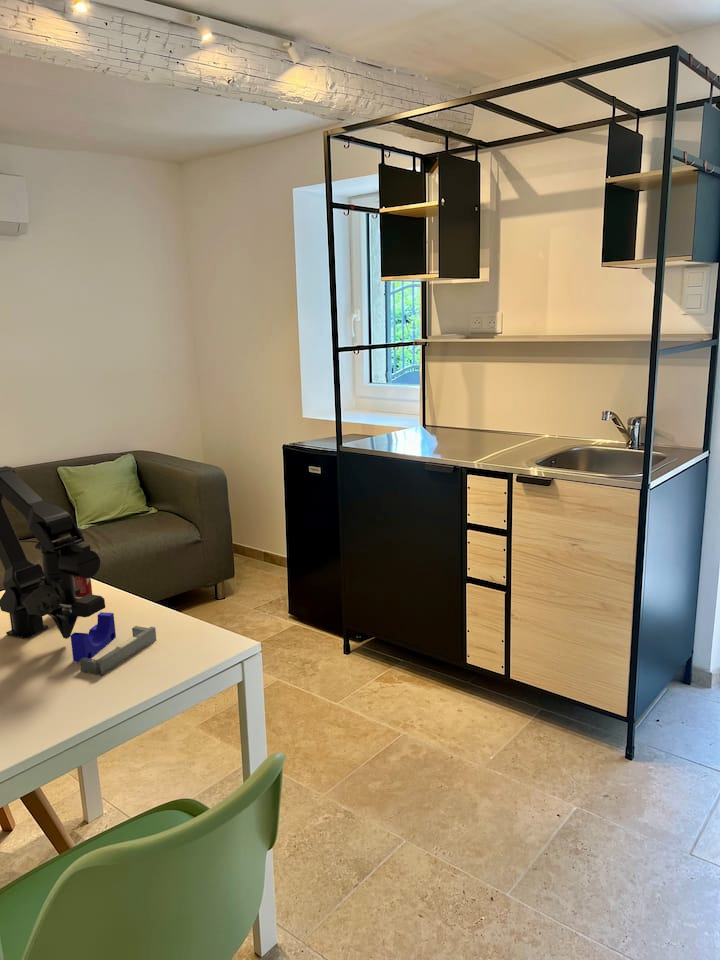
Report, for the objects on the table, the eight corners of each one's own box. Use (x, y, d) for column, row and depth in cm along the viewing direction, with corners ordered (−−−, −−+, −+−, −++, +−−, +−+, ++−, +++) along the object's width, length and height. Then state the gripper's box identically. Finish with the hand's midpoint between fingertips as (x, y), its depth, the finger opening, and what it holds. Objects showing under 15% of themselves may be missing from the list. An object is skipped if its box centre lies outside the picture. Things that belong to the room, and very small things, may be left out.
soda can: (87, 613, 176) (82, 565, 173) (59, 613, 176) (54, 566, 173) (97, 602, 183) (92, 556, 180) (70, 602, 183) (65, 557, 180)
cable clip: (97, 636, 163) (94, 611, 162) (116, 638, 163) (113, 613, 161) (67, 661, 152) (63, 635, 151) (86, 663, 151) (83, 636, 150)
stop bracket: (80, 671, 147) (78, 656, 147) (136, 636, 163) (135, 622, 162) (101, 675, 145) (100, 660, 144) (156, 640, 161) (155, 626, 160)
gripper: (-6, 577, 152) (4, 647, 155) (64, 588, 145) (72, 660, 148) (36, 560, 162) (45, 626, 165) (103, 570, 155) (110, 638, 158)
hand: (66, 637), depth 159 cm, fingers closed
